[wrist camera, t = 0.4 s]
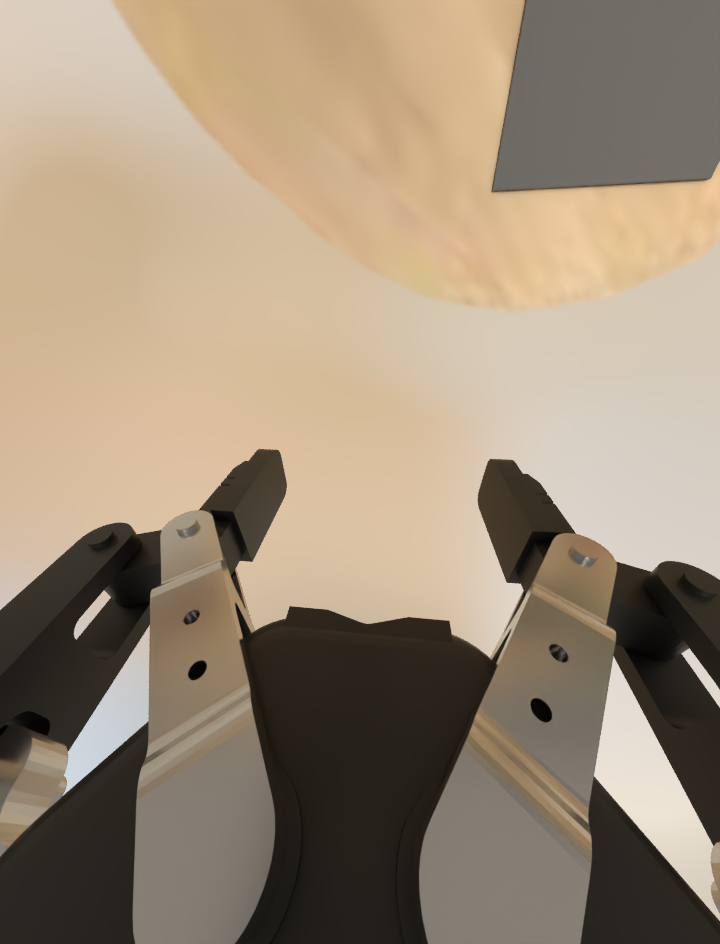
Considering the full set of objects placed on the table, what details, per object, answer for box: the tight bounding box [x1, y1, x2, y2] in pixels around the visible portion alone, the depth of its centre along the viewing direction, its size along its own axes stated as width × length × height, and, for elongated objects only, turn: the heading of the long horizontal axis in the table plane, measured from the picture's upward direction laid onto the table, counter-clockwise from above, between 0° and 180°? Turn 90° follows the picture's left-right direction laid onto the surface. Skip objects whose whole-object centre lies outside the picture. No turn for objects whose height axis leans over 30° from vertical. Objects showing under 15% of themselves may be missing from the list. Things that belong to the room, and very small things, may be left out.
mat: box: [492, 0, 720, 192], centre depth 21 cm, size 12×18×1 cm, turn 91°
